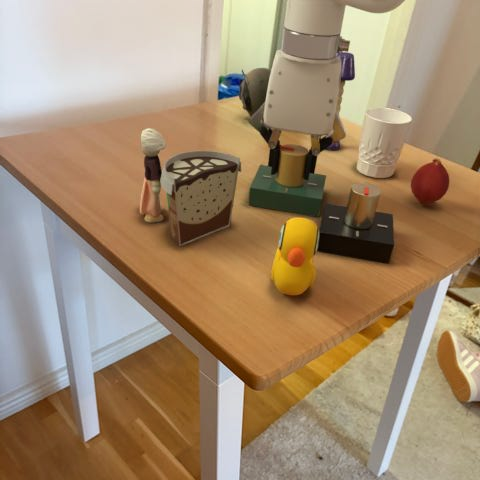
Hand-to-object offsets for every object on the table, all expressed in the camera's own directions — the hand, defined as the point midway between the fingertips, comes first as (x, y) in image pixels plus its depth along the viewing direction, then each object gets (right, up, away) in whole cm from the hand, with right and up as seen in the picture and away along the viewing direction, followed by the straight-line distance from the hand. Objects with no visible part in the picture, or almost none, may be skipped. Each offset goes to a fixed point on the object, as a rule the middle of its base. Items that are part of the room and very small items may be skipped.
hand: (290, 172), depth 82 cm
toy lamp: (+10, +11, +22) cm, 27 cm away
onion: (+22, -4, +5) cm, 23 cm away
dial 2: (+9, -9, -8) cm, 15 cm away
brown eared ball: (-3, +19, +30) cm, 36 cm away
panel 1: (0, -3, +3) cm, 4 cm away
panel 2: (+8, -11, -6) cm, 15 cm away
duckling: (-2, -19, -16) cm, 25 cm away
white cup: (+17, +4, +15) cm, 22 cm away
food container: (-15, -10, -7) cm, 19 cm away
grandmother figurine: (-20, -8, -5) cm, 23 cm away
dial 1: (0, -1, +1) cm, 1 cm away
